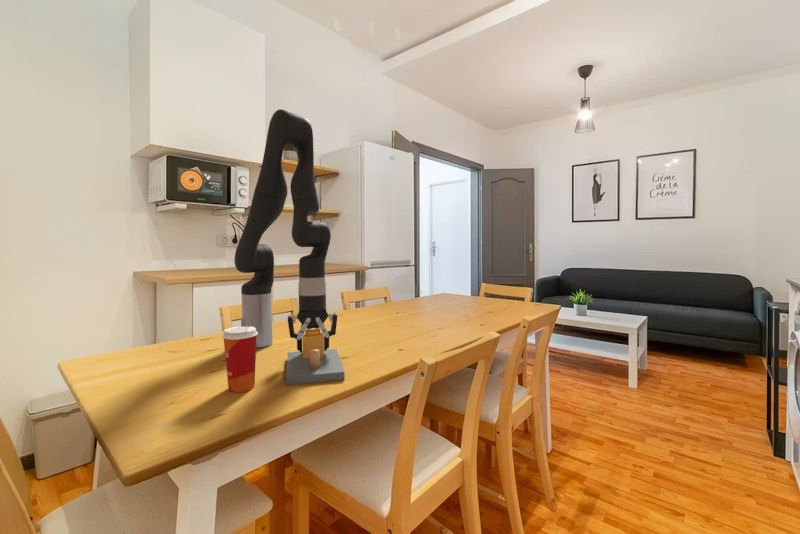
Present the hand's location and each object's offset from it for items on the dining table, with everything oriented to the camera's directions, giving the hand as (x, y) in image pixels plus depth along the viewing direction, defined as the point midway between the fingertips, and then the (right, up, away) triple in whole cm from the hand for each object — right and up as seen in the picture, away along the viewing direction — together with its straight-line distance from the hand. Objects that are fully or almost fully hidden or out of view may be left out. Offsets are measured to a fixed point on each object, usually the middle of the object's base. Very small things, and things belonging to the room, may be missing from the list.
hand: (313, 350), depth 105 cm
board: (+2, -4, -5) cm, 7 cm away
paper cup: (-12, -5, -19) cm, 23 cm away
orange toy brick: (0, -1, 0) cm, 1 cm away
